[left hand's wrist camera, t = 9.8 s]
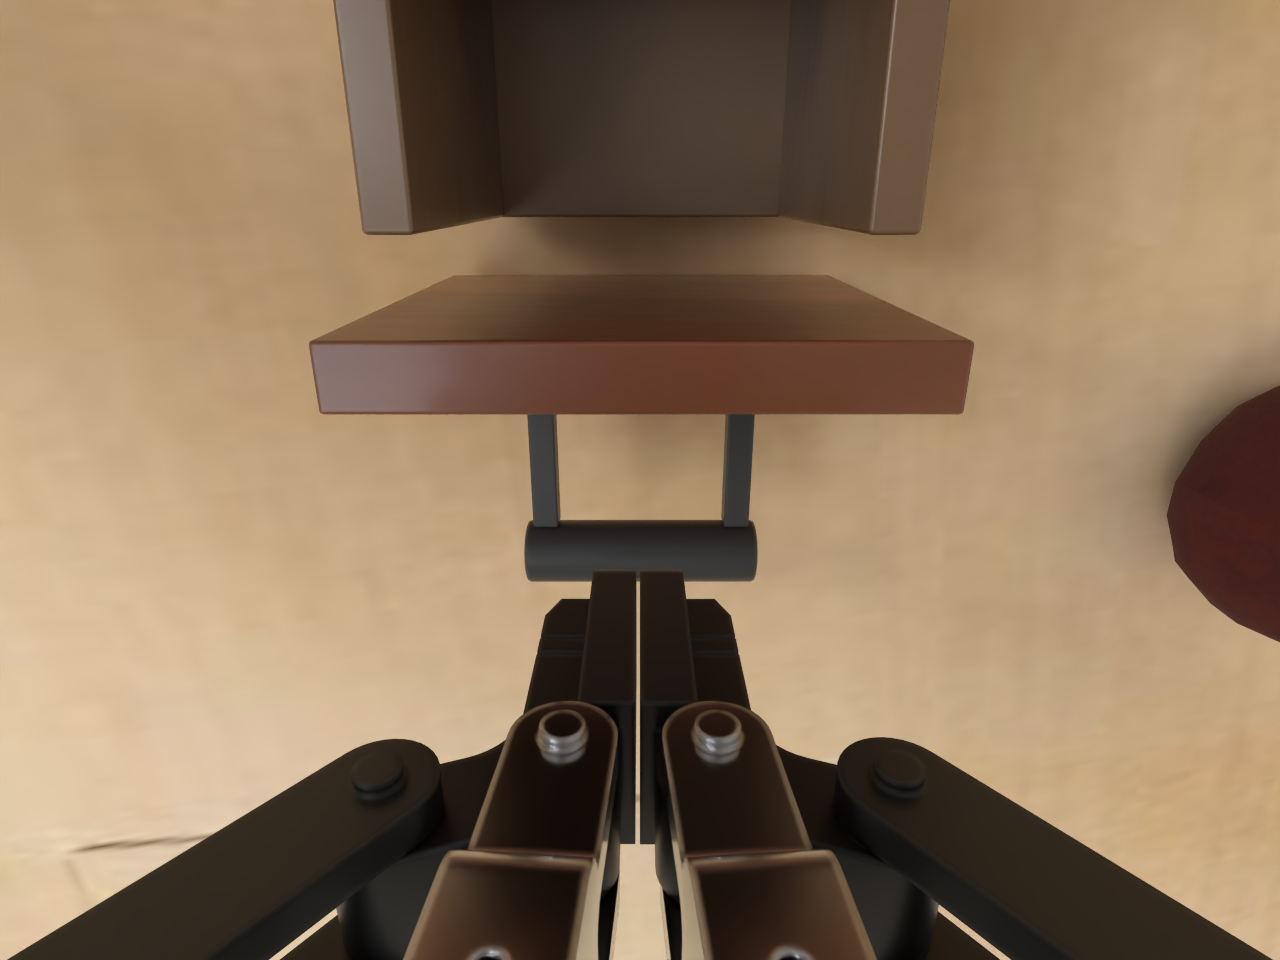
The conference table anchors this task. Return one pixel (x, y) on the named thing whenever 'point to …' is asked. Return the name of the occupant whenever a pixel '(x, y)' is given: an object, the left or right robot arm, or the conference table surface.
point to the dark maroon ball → (1234, 515)
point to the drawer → (641, 187)
